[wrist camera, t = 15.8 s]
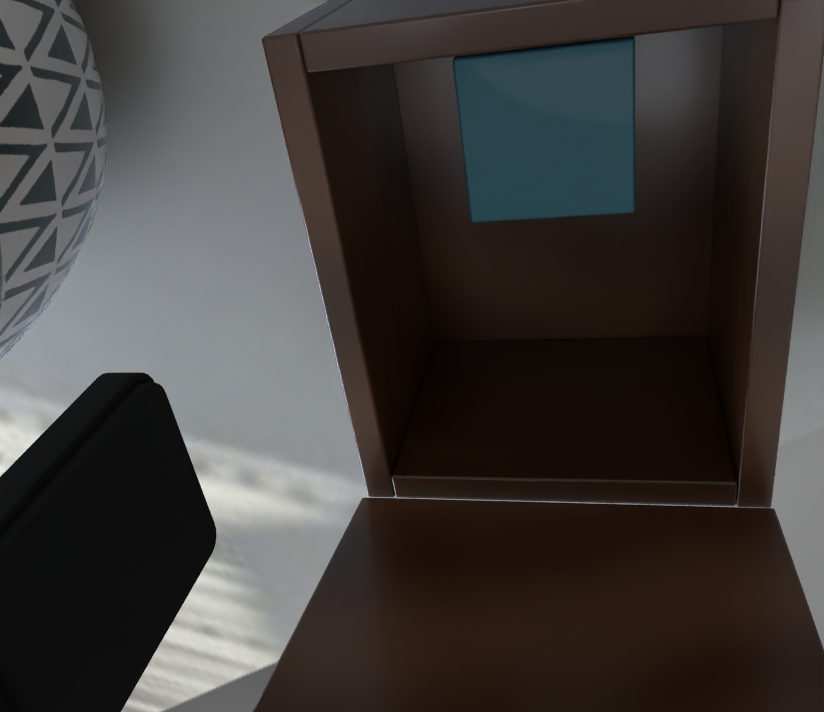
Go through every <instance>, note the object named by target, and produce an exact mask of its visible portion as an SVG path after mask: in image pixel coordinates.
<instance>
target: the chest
mask: <svg viewBox="0 0 824 712" xmlns="http://www.w3.org/2000/svg"><path fill="white" fill-rule="evenodd" d="M627 36H634V38H635V211H634V212H633V213H622V214H606V215H590V216H574V217H557V218H541V219H525V220H508V221H492V222H476V223H473V222H472V221H471V217H470V209H469V200H468V191H467V183H466V174H465V165H464V157H463V148H462V140H461V131H460V122H459V114H458V105H457V96H456V88H455V79H454V71H453V59H454V58H455V56H462V55H471V54H480V53H488V52H497V51H506V50H515V49H523V48H532V47H541V46H549V45H558V44H567V43H575V42H584V41H593V40H601V39H610V38H619V37H627ZM262 43H263V47H264V51H265V56H266V60H267V64H268V69H269V73H270V77H271V82H272V86H273V90H274V94H275V99H276V103H277V107H278V112H279V116H280V120H281V125H282V129H283V133H284V137H285V142H286V146H287V150H288V155H289V159H290V163H291V167H292V172H293V176H294V180H295V185H296V189H297V193H298V198H299V202H300V206H301V210H302V215H303V219H304V223H305V228H306V232H307V236H308V240H309V245H310V249H311V253H312V258H313V262H314V266H315V271H316V275H317V279H318V283H319V288H320V292H321V296H322V301H323V305H324V309H325V313H326V318H327V322H328V326H329V331H330V335H331V339H332V344H333V348H334V352H335V356H336V361H337V365H338V369H339V374H340V378H341V382H342V386H343V391H344V395H345V399H346V404H347V408H348V412H349V417H350V421H351V425H352V429H353V434H354V438H355V442H356V447H357V451H358V455H359V460H360V464H361V468H362V472H363V477H364V481H365V485H366V490H367V494H368V496H370V497H394V496H396V497H406V498H444V499H482V500H521V501H559V502H597V503H635V504H675V505H712V506H713V505H714V506H716V505H717V506H734V505H736V504H737V506H738V507H764V508H769V507H771V502H772V493H773V485H774V476H775V468H776V458H777V450H778V442H779V433H780V425H781V416H782V407H783V399H784V390H785V382H786V373H787V364H788V356H789V347H790V339H791V330H792V322H793V313H794V304H795V296H796V287H797V279H798V270H799V261H800V253H801V244H802V236H803V227H804V218H805V210H806V201H807V193H808V184H809V176H810V167H811V158H812V150H813V141H814V133H815V124H816V115H817V107H818V98H819V90H820V81H821V72H822V64H823V55H824V0H329V1H327V2H325V3H323V4H321V5H320V6H318V7H316V8H314V9H313V10H311V11H309V12H307V13H305V14H304V15H302V16H300V17H298V18H297V19H295V20H293V21H291V22H289V23H288V24H286V25H284V26H282V27H281V28H279V29H277V30H275V31H273V32H272V33H270V34H268V35H266V36H265V37H263V38H262Z"/></svg>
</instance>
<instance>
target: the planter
mask: <svg viewBox="0 0 824 712" xmlns="http://www.w3.org/2000/svg"><path fill="white" fill-rule="evenodd" d="M105 165H106V115H105V106H104V98H103V92H102V86H101V81H100V76H99V72H98V68H97V64H96V60H95V57H94V54H93V51H92V47H91V44H90V41H89V38H88V36H87V33H86V30H85V28H84V25H83V22H82V20H81V17H80V15H79V13H78V11H77V9H76V6H75V4H74V2H73V0H0V359H1V358H2V357H3V356H5V355H6V354H7V353H8V351H9V350H10V349H11V348H12V347H13V346H14V345H15V344H16V343H17V342H18V341H19V340H20V339H21V337H22V336H23V335H24V334H25V333H26V332H27V331H28V329H29V328H30V327H31V326H32V325H33V324H34V322H35V321H36V320H37V319H38V318H39V317H40V315H41V314H42V313H43V311H44V310H45V309H46V307H47V306H48V305H49V303H50V302H51V300H52V299H53V297H54V296H55V294H56V292H57V291H58V289H59V288H60V286H61V285H62V283H63V281H64V280H65V278H66V277H67V275H68V273H69V271H70V270H71V268H72V266H73V264H74V262H75V260H76V258H77V256H78V254H79V252H80V250H81V248H82V246H83V244H84V241H85V239H86V237H87V235H88V232H89V230H90V228H91V225H92V222H93V219H94V215H95V212H96V209H97V205H98V202H99V199H100V194H101V190H102V185H103V180H104V173H105Z"/></svg>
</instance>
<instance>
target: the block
mask: <svg viewBox="0 0 824 712" xmlns="http://www.w3.org/2000/svg"><path fill="white" fill-rule="evenodd" d="M453 71H454V79H455V88H456V96H457V105H458V114H459V122H460V131H461V140H462V148H463V157H464V165H465V174H466V183H467V191H468V200H469V209H470V217H471V221H472V222H473V223H476V222H492V221H508V220H525V219H541V218H557V217H574V216H590V215H606V214H622V213H633V212H634V211H635V38H634V36H627V37H619V38H610V39H601V40H593V41H584V42H575V43H567V44H558V45H549V46H541V47H532V48H523V49H515V50H506V51H497V52H488V53H480V54H471V55H462V56H455V58H454V59H453Z"/></svg>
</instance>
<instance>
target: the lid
mask: <svg viewBox="0 0 824 712" xmlns="http://www.w3.org/2000/svg"><path fill="white" fill-rule="evenodd" d="M253 712H824V649H823V646H822V643H821V640H820V637H819V635H818V632H817V629H816V626H815V623H814V620H813V617H812V615H811V612H810V609H809V606H808V603H807V600H806V598H805V595H804V592H803V589H802V586H801V583H800V580H799V578H798V575H797V572H796V569H795V566H794V563H793V560H792V557H791V555H790V552H789V549H788V546H787V543H786V541H785V537H784V535H783V532H782V529H781V526H780V523H779V520H778V518H777V515H776V512H775V510H774V509H772V508H735V507H733V508H732V507H697V506H659V505H622V504H585V503H547V502H509V501H472V500H434V499H396V498H362V500H361V502H360V504H359V506H358V508H357V509H356V511H355V513H354V515H353V517H352V519H351V521H350V523H349V525H348V527H347V529H346V531H345V533H344V535H343V537H342V539H341V541H340V542H339V544H338V546H337V548H336V550H335V552H334V554H333V556H332V558H331V560H330V562H329V564H328V566H327V568H326V570H325V572H324V574H323V576H322V577H321V579H320V581H319V583H318V585H317V587H316V589H315V591H314V593H313V595H312V597H311V599H310V601H309V603H308V605H307V607H306V609H305V611H304V612H303V614H302V616H301V618H300V620H299V622H298V624H297V626H296V628H295V630H294V632H293V634H292V636H291V638H290V640H289V642H288V644H287V646H286V647H285V649H284V651H283V653H282V655H281V657H280V659H279V661H278V663H277V665H276V667H275V669H274V671H273V673H272V675H271V677H270V679H269V680H268V683H267V684H266V686H265V688H264V690H263V692H262V694H261V696H260V698H259V700H258V702H257V704H256V706H255V708H254V710H253Z"/></svg>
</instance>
